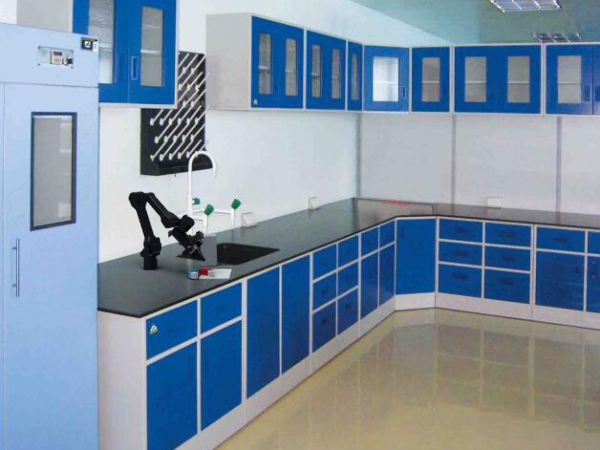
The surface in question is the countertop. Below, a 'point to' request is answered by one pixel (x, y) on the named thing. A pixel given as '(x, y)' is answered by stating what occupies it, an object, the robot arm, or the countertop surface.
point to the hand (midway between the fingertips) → (205, 261)
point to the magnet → (200, 272)
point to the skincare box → (209, 250)
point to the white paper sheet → (218, 274)
